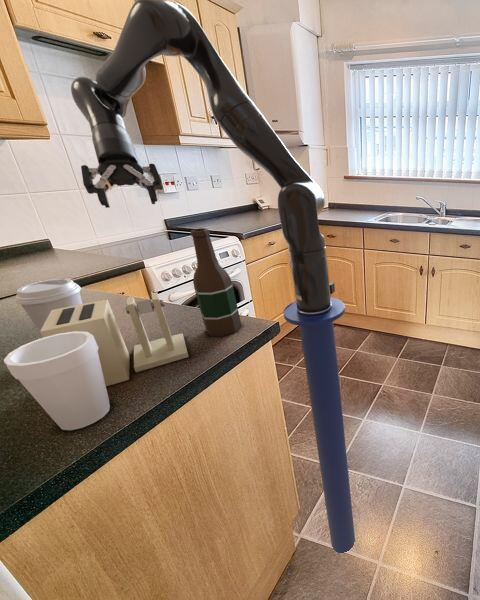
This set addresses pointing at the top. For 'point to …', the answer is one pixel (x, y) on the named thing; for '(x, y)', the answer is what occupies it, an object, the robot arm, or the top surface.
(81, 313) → the toaster
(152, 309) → the lever
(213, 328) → the beer bottle
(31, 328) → the top surface
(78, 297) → the coffee cup
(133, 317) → the lever bracket
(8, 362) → the foam cup
